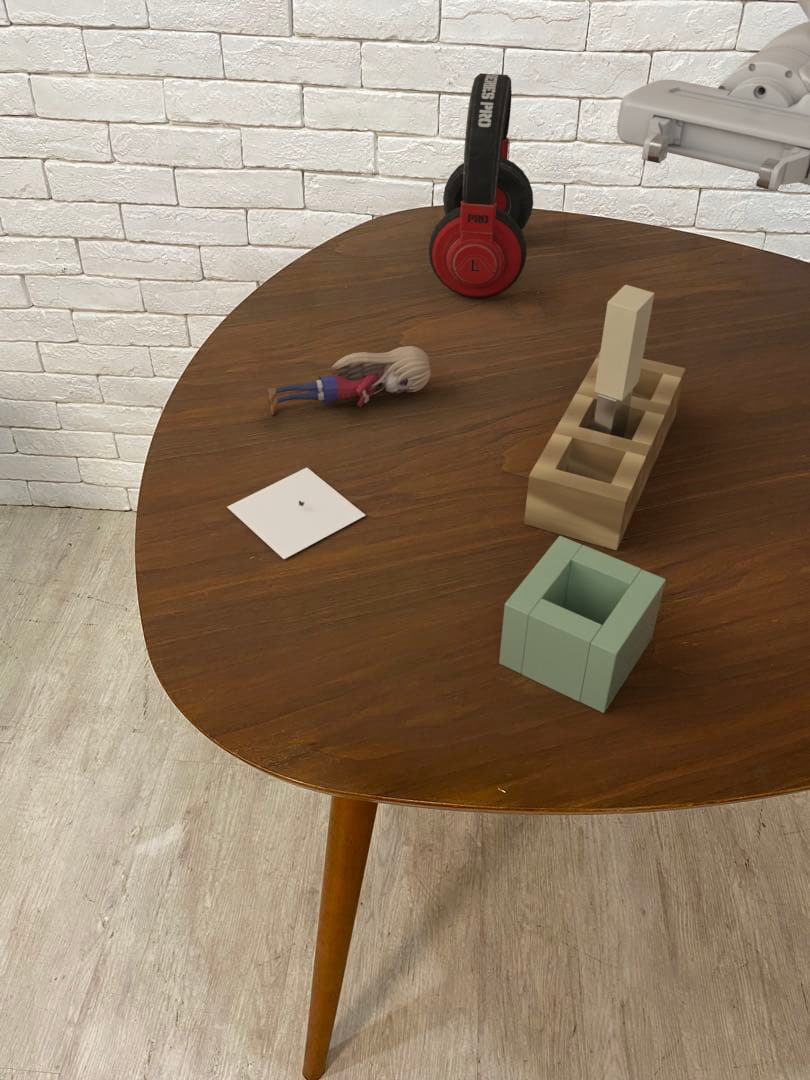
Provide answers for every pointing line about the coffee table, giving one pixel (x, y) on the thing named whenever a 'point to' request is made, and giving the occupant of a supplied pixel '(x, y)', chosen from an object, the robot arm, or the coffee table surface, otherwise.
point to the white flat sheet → (295, 512)
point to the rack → (602, 460)
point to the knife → (621, 357)
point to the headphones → (483, 202)
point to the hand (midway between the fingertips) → (707, 165)
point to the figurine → (363, 377)
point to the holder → (580, 622)
